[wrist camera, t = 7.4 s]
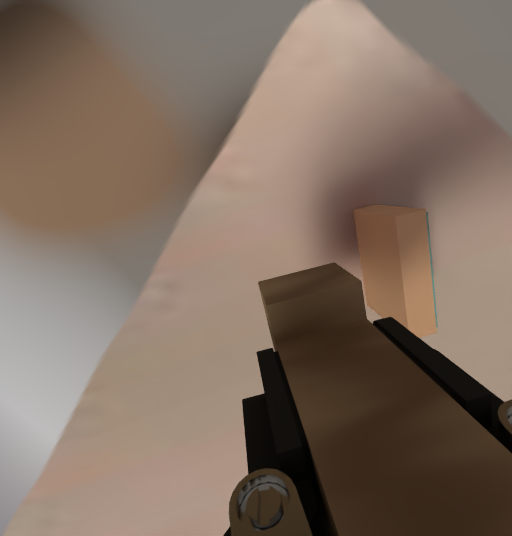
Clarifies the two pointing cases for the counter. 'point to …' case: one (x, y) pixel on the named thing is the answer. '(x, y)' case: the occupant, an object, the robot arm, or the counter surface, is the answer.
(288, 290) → the tan stepped block
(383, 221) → the tile
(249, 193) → the counter surface
